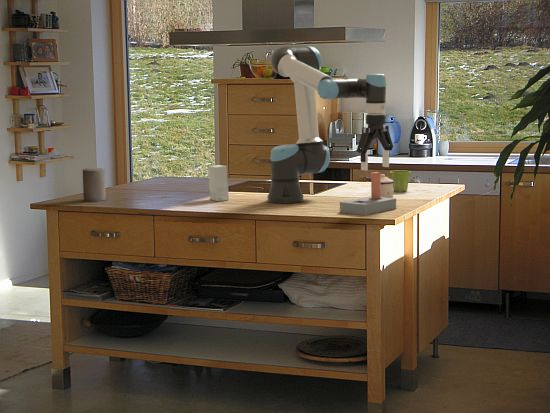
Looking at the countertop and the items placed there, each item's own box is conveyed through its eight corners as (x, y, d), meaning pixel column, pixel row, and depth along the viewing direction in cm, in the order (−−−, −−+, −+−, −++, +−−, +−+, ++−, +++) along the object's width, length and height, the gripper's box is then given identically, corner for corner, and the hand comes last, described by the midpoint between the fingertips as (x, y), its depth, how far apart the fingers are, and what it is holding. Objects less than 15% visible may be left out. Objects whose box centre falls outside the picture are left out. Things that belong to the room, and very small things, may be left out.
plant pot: (410, 189, 428) (410, 170, 427) (411, 192, 419) (411, 172, 418) (389, 189, 429) (389, 170, 428) (390, 192, 420) (390, 172, 418)
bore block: (339, 212, 366) (339, 202, 365) (371, 206, 380) (371, 196, 380) (364, 215, 358) (364, 204, 357) (396, 208, 372) (396, 198, 371)
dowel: (369, 208, 372) (369, 172, 370) (375, 207, 375) (374, 171, 373) (376, 209, 370) (376, 173, 368) (382, 207, 372) (382, 172, 370)
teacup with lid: (375, 200, 395) (375, 172, 394) (396, 201, 392) (396, 173, 390) (366, 204, 384) (366, 176, 383) (387, 205, 381) (387, 176, 379)
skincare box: (229, 200, 404) (228, 165, 402) (215, 201, 402) (214, 166, 400) (221, 198, 412) (220, 164, 410) (208, 199, 409) (207, 165, 407)
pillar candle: (79, 201, 412) (77, 166, 410) (91, 198, 421) (90, 164, 419) (98, 202, 409) (97, 167, 406) (110, 199, 418) (109, 165, 415)
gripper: (363, 116, 356) (362, 172, 359) (402, 112, 373) (401, 166, 377) (347, 115, 361) (347, 170, 364) (387, 111, 378) (386, 164, 382)
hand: (375, 168), depth 371 cm, fingers open, 13 cm apart
